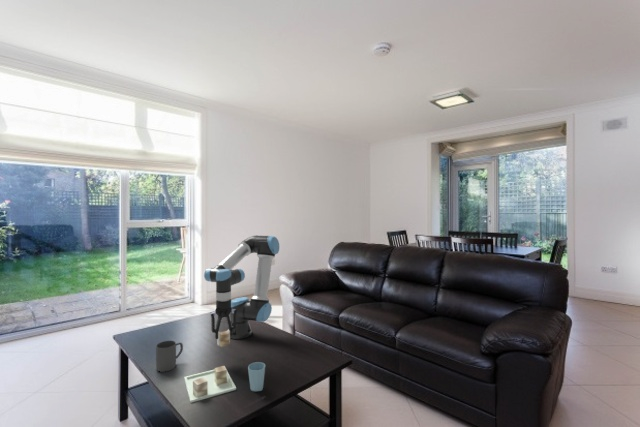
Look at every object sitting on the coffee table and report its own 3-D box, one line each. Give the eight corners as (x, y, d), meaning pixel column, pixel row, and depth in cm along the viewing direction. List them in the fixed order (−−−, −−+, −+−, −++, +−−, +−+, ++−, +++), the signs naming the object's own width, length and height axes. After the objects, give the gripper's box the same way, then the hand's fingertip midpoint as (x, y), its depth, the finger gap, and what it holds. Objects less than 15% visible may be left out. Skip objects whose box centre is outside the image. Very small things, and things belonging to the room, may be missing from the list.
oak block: (226, 341, 167) (226, 330, 167) (229, 345, 163) (229, 333, 163) (218, 343, 164) (218, 332, 164) (220, 346, 161) (220, 335, 161)
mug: (162, 374, 153) (162, 350, 153) (152, 368, 158) (152, 345, 158) (187, 362, 164) (187, 340, 164) (177, 358, 169) (177, 336, 169)
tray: (224, 369, 157) (225, 366, 157) (236, 391, 139) (236, 387, 139) (184, 380, 148) (184, 376, 148) (190, 404, 130) (190, 400, 130)
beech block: (224, 378, 149) (224, 365, 149) (226, 382, 145) (226, 369, 145) (214, 380, 146) (214, 367, 146) (216, 385, 143) (216, 372, 142)
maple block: (203, 390, 139) (202, 377, 139) (207, 394, 135) (207, 381, 135) (192, 394, 135) (192, 380, 135) (197, 399, 132) (197, 385, 132)
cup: (244, 388, 141) (244, 365, 141) (259, 382, 146) (260, 360, 146) (252, 396, 136) (253, 372, 135) (268, 389, 141) (268, 366, 140)
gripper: (238, 295, 171) (238, 337, 171) (204, 299, 162) (204, 344, 163) (242, 298, 165) (242, 342, 165) (207, 303, 156) (207, 350, 156)
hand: (223, 343), depth 164 cm, fingers closed on oak block, 4 cm apart
